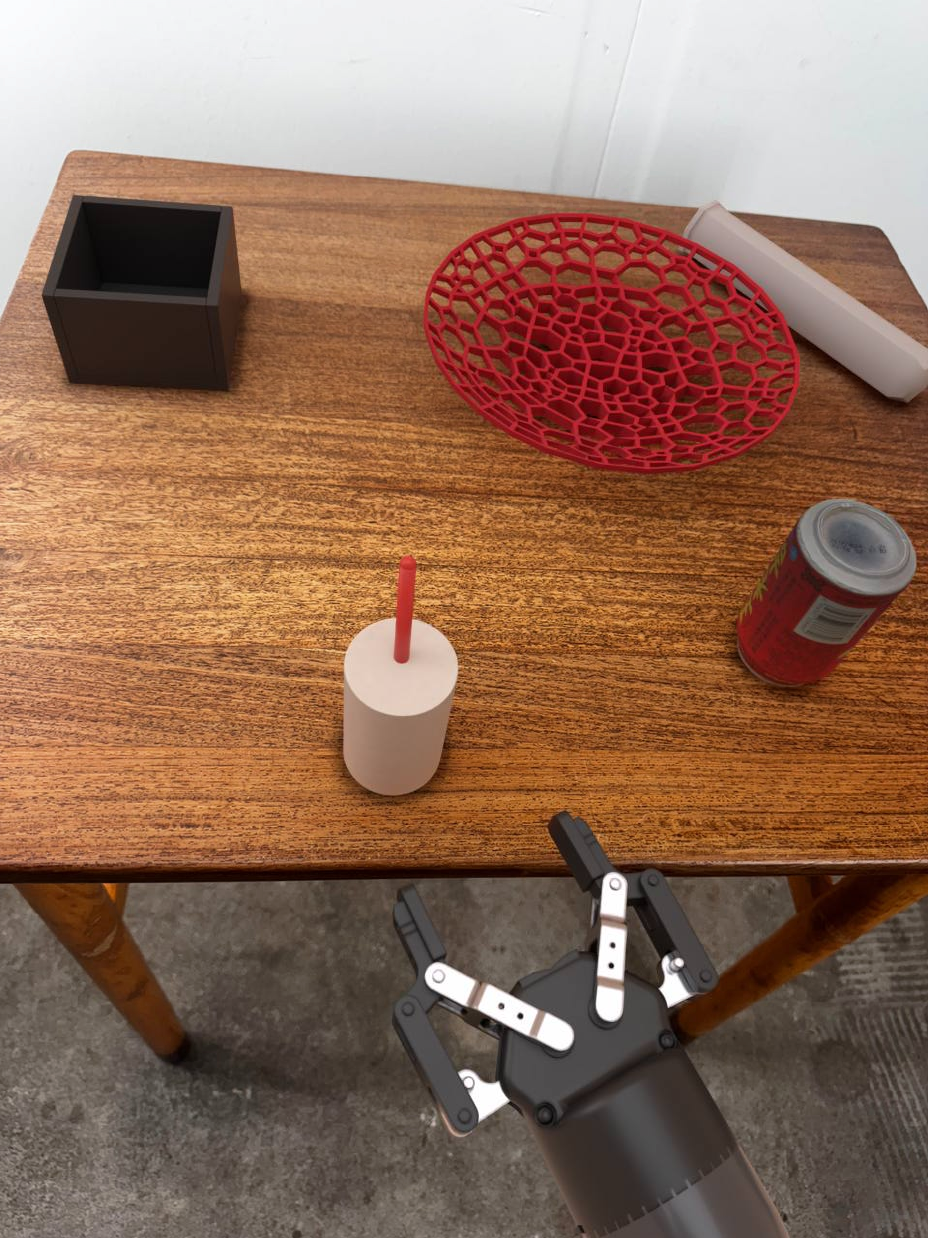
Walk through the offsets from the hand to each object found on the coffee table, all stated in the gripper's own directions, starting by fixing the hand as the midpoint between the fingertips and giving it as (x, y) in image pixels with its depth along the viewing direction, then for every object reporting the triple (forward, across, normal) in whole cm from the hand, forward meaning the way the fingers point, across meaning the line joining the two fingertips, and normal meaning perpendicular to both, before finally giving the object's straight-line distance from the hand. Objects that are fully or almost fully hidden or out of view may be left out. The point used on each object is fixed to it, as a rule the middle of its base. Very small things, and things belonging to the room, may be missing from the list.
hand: (481, 853), depth 45 cm
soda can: (+5, -27, +7) cm, 28 cm away
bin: (+49, +1, +6) cm, 50 cm away
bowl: (+33, -30, +7) cm, 45 cm away
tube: (+32, -50, +7) cm, 60 cm away
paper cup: (+10, 0, +6) cm, 12 cm away
